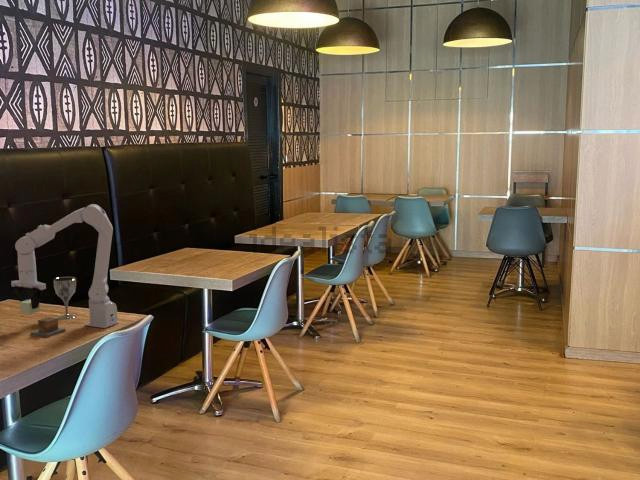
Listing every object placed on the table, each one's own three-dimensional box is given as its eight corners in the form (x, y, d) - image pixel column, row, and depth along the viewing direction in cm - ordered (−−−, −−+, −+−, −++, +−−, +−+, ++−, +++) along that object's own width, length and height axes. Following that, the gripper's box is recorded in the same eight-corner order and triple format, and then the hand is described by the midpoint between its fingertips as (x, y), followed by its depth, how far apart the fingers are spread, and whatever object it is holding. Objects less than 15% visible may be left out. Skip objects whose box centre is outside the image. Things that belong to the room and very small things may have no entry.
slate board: (65, 331, 224) (65, 328, 223) (47, 337, 216) (47, 334, 216) (48, 328, 227) (48, 326, 226) (30, 334, 219) (30, 332, 219)
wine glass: (51, 319, 240) (48, 280, 237) (64, 313, 247) (61, 276, 245) (70, 320, 238) (67, 281, 236) (82, 314, 246) (80, 277, 243)
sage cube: (39, 311, 227) (39, 300, 226) (29, 314, 223) (29, 303, 222) (30, 310, 229) (29, 299, 228) (20, 313, 225) (19, 302, 224)
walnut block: (58, 329, 223) (57, 318, 222) (48, 332, 219) (47, 321, 218) (48, 327, 224) (48, 316, 224) (38, 331, 220) (37, 320, 220)
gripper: (3, 270, 223) (5, 308, 225) (33, 273, 217) (36, 312, 219) (19, 267, 229) (22, 303, 231) (49, 270, 224) (52, 307, 226)
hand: (30, 307), depth 226 cm, fingers closed on sage cube, 4 cm apart
